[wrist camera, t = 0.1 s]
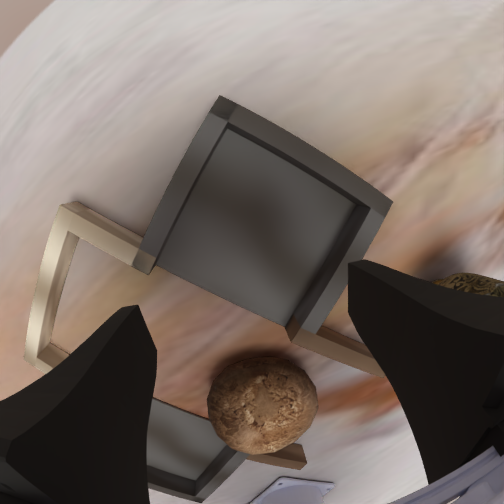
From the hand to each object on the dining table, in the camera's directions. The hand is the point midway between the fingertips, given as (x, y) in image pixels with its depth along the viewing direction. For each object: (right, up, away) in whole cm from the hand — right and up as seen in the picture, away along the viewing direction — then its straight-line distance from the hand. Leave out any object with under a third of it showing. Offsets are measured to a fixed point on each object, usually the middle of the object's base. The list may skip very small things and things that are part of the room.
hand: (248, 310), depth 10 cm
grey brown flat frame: (-4, -6, +12) cm, 14 cm away
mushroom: (+1, -9, +13) cm, 16 cm away
